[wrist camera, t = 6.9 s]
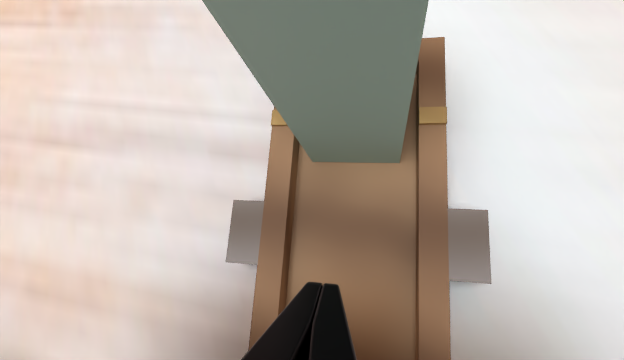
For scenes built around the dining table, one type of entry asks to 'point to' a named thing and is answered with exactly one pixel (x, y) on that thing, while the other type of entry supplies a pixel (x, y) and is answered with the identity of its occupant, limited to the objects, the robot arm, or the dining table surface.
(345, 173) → the wooden tray
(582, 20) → the dining table surface
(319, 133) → the grey-green tall block
